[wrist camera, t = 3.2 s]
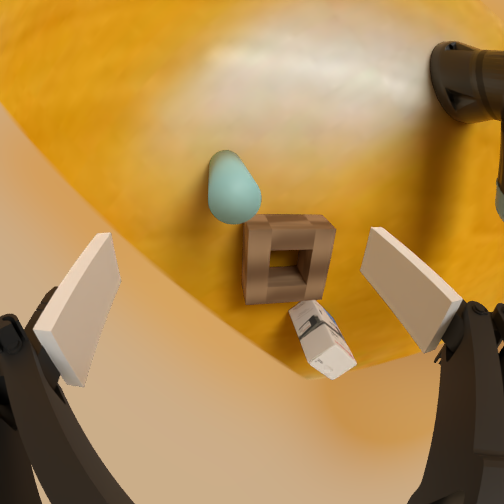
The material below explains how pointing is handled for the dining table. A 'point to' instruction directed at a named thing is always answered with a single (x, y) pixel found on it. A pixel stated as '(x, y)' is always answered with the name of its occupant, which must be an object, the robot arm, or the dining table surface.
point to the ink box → (321, 339)
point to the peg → (231, 189)
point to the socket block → (286, 238)
